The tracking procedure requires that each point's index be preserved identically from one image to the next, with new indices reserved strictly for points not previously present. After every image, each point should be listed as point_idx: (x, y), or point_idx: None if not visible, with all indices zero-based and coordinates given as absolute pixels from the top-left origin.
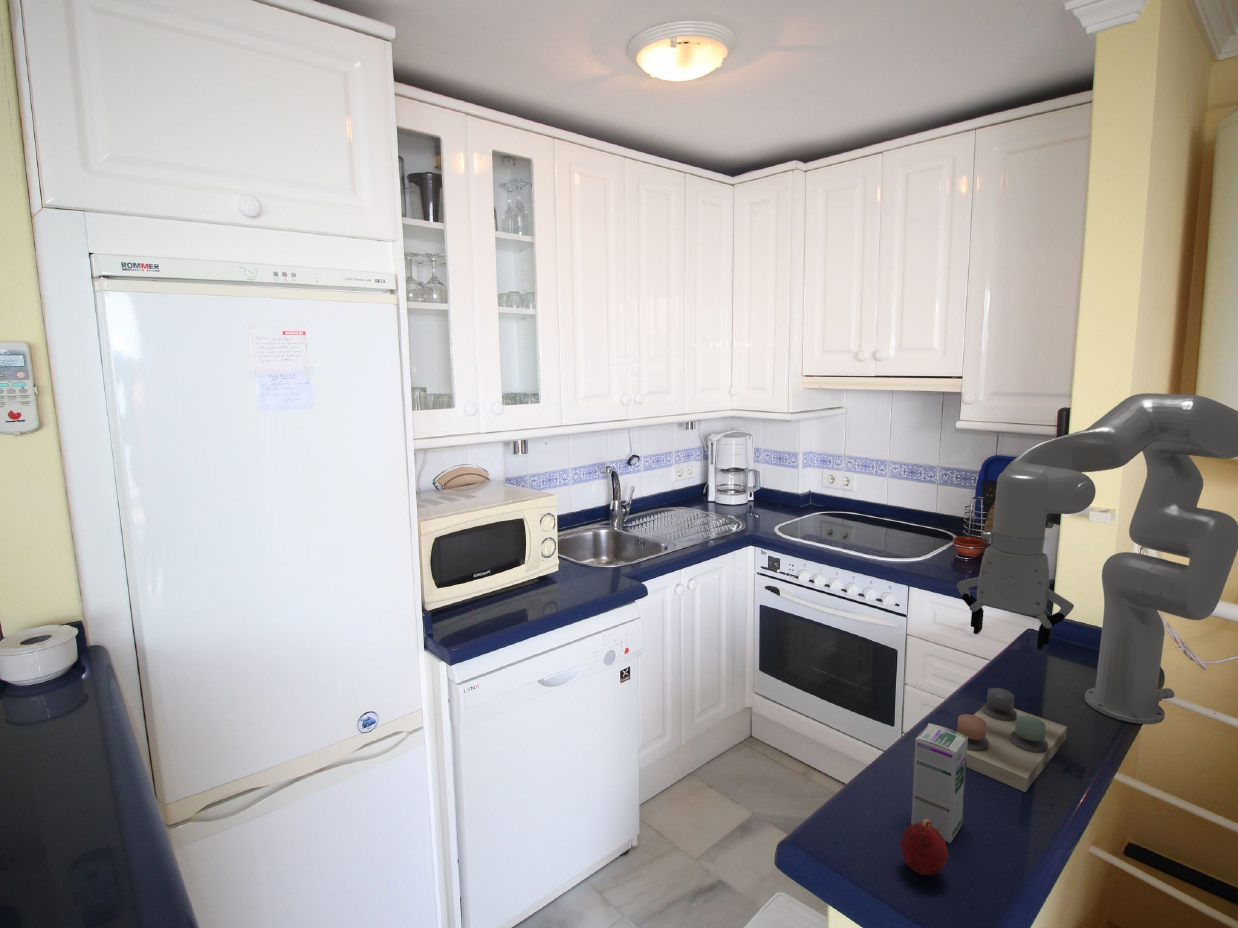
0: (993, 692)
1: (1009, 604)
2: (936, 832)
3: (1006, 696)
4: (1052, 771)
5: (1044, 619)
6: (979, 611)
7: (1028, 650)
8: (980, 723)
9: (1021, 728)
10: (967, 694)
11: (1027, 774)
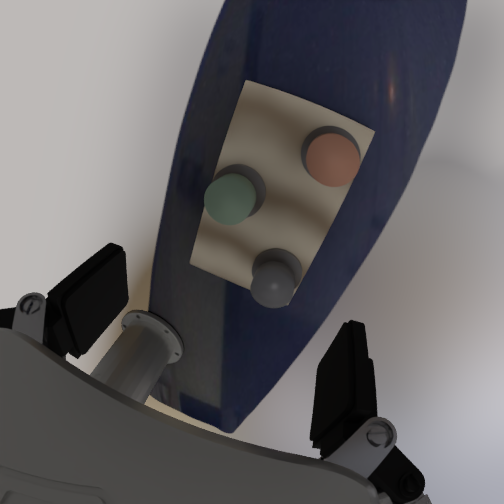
0: (284, 290)
1: (113, 450)
2: None
3: (263, 283)
4: (214, 158)
5: (24, 325)
6: (342, 424)
7: (237, 413)
8: (317, 156)
9: (243, 182)
10: (313, 327)
11: (244, 90)
